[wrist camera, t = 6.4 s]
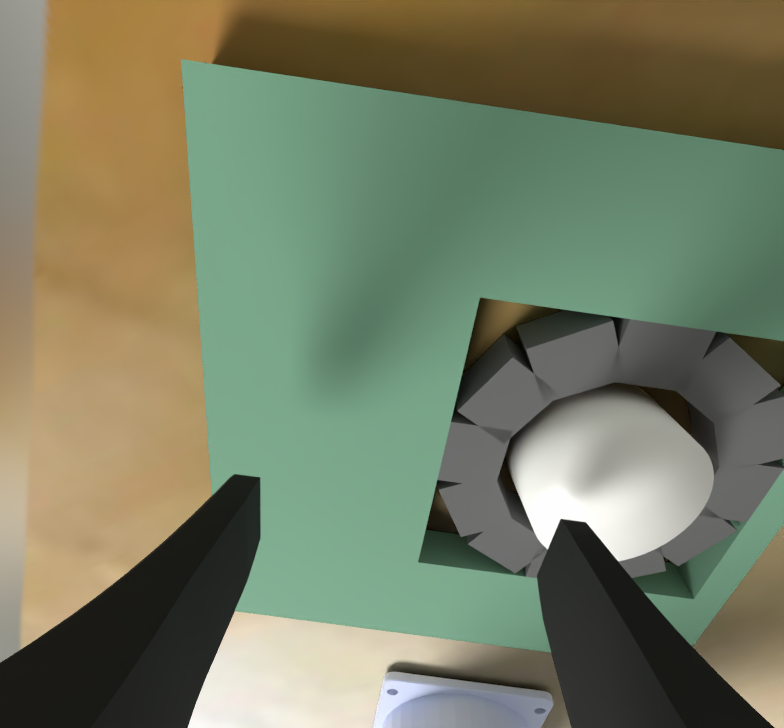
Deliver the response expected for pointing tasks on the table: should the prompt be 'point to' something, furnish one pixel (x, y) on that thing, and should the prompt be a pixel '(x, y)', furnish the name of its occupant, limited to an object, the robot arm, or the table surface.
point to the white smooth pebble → (610, 469)
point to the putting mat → (467, 338)
